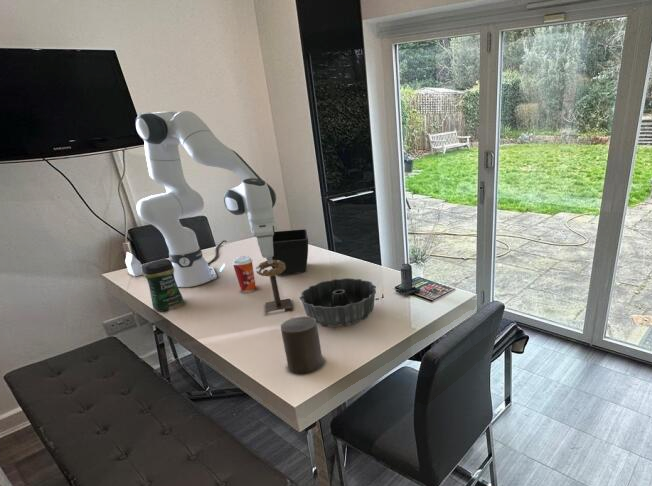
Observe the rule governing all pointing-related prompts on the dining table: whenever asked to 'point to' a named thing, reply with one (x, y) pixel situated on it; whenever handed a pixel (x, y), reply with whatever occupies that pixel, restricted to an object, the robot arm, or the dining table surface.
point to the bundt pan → (339, 301)
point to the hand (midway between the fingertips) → (270, 261)
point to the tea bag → (133, 265)
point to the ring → (272, 272)
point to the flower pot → (291, 250)
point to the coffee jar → (162, 284)
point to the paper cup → (244, 272)
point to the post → (277, 299)
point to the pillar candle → (302, 344)
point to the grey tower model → (406, 281)
